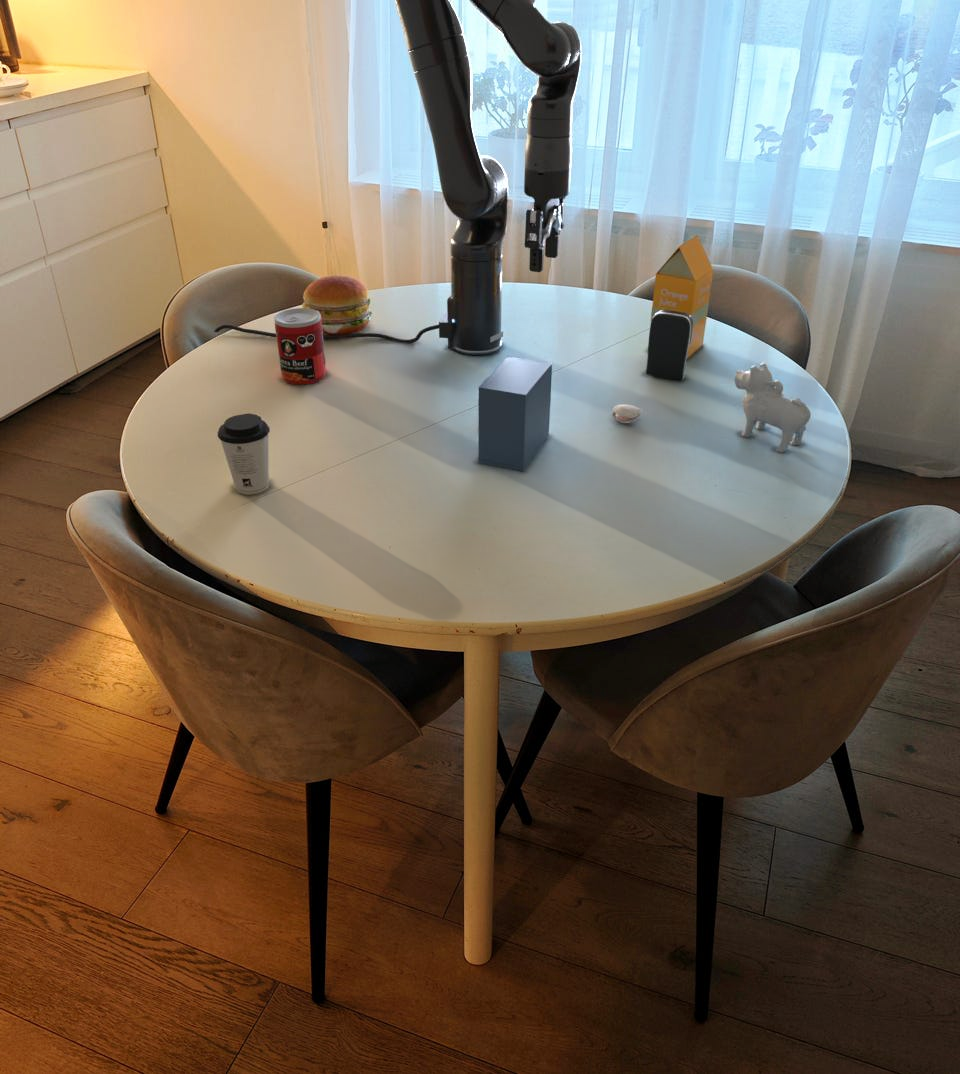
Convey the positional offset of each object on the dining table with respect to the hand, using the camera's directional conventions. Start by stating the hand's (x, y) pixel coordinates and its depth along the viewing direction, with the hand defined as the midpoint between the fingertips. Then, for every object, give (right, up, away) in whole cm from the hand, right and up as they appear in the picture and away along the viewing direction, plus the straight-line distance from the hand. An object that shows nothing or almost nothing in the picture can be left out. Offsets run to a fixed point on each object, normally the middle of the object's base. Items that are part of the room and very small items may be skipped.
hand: (543, 264), depth 156 cm
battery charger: (+22, -19, +4) cm, 29 cm away
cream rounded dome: (+13, -28, -11) cm, 33 cm away
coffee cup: (-43, -40, -29) cm, 65 cm away
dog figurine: (+33, -32, -16) cm, 48 cm away
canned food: (-42, -19, +3) cm, 46 cm away
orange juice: (+26, -12, +14) cm, 32 cm away
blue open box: (-6, -29, -23) cm, 37 cm away
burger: (-39, -6, +23) cm, 46 cm away
